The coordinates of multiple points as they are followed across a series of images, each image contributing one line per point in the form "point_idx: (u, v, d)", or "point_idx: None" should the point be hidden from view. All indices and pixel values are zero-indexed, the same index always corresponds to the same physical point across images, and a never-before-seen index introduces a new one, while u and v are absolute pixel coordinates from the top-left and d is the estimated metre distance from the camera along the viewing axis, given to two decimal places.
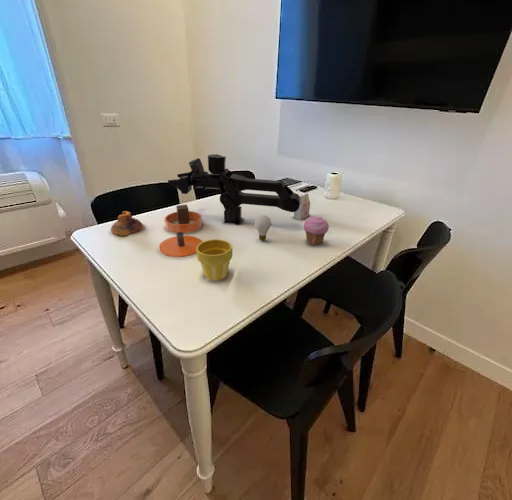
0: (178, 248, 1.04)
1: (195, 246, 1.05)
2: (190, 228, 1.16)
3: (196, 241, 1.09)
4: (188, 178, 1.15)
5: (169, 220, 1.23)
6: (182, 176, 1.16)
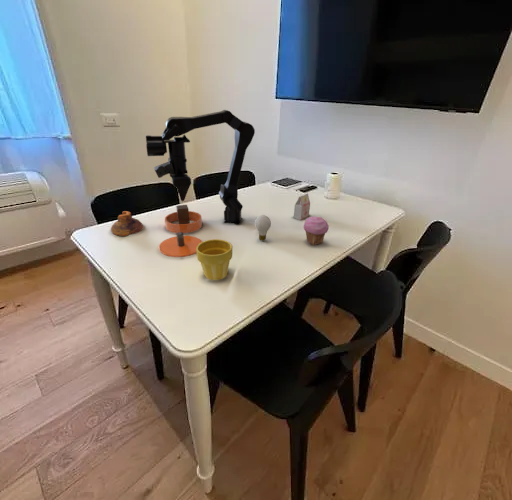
0: (178, 248, 1.04)
1: (195, 246, 1.05)
2: (190, 228, 1.16)
3: (196, 241, 1.09)
4: (173, 177, 1.05)
5: (169, 220, 1.23)
6: (173, 184, 1.07)
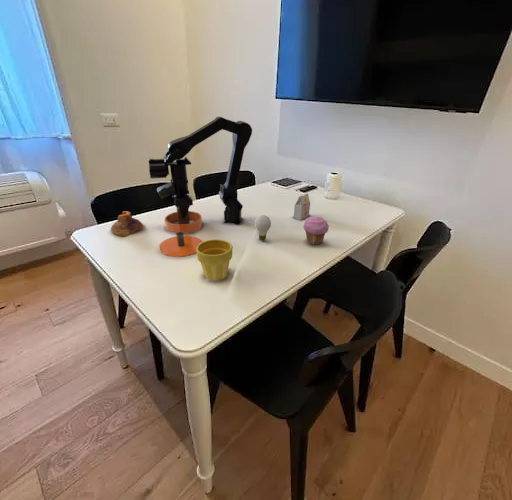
0: (178, 248, 1.04)
1: (195, 246, 1.05)
2: (190, 228, 1.16)
3: (196, 241, 1.09)
4: (175, 198, 1.09)
5: (169, 220, 1.23)
6: (174, 202, 1.12)
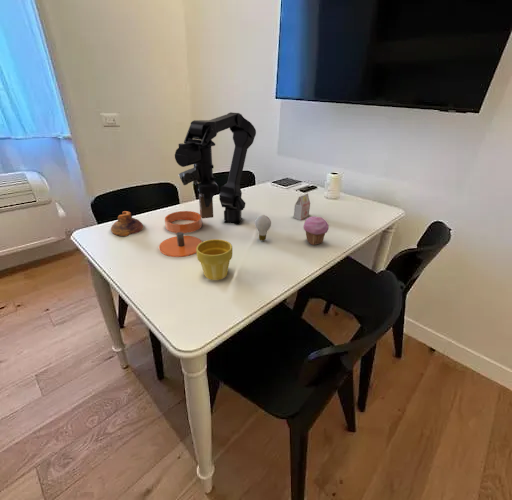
0: (178, 248, 1.04)
1: (195, 246, 1.05)
2: (190, 228, 1.16)
3: (196, 241, 1.09)
4: (200, 184, 0.98)
5: (169, 220, 1.23)
6: (198, 189, 1.02)
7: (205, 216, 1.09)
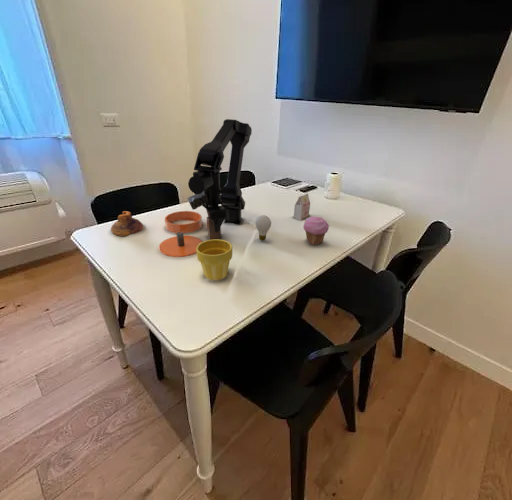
0: (178, 248, 1.04)
1: (195, 246, 1.05)
2: (190, 228, 1.16)
3: (196, 241, 1.09)
4: (209, 209, 1.00)
5: (169, 220, 1.23)
6: (208, 216, 1.02)
7: None
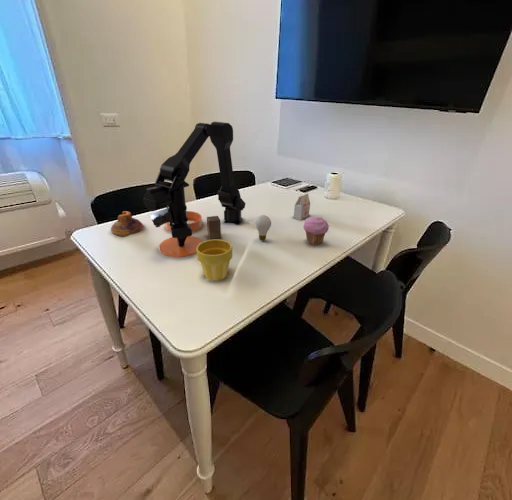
0: (178, 248, 1.04)
1: (195, 246, 1.05)
2: None
3: (196, 241, 1.09)
4: (172, 228, 0.95)
5: None
6: None
7: None
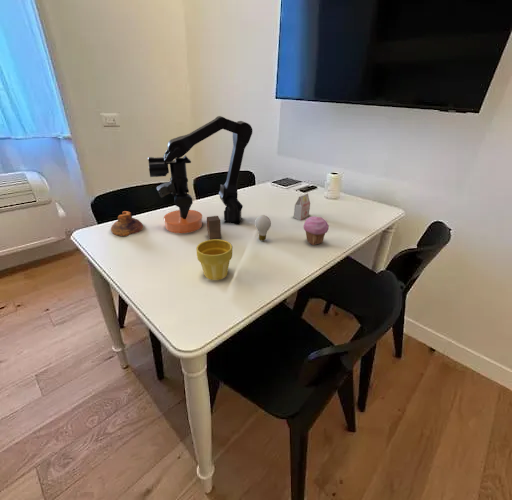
0: (180, 218, 1.18)
1: (195, 217, 1.19)
2: (190, 228, 1.16)
3: (197, 213, 1.23)
4: (175, 197, 1.08)
5: None
6: None
7: None
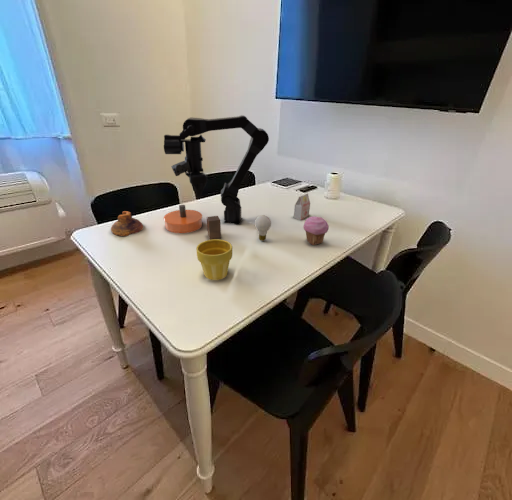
0: (180, 218, 1.18)
1: (195, 217, 1.19)
2: (190, 228, 1.16)
3: (197, 213, 1.23)
4: (190, 175, 1.10)
5: None
6: None
7: None
